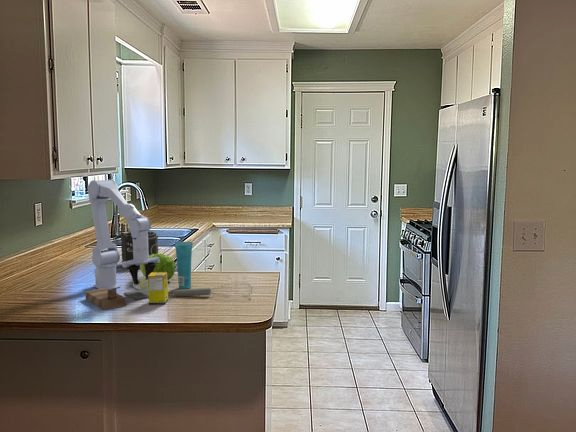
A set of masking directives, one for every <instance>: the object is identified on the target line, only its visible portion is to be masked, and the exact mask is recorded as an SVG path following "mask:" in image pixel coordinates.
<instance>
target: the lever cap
mask: <svg viewBox="0 0 576 432" xmlns="http://www.w3.org/2000/svg"><path fill="white" fill-rule="evenodd" d="M132 287H133V288H135V289H137V290H143V289H148V278H147V277H145V276H144V275H142V276H138V284H137V285H135V284H134V282H133V281H132Z"/></svg>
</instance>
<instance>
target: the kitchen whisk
mask: <svg viewBox="0 0 576 432" xmlns="http://www.w3.org/2000/svg"><path fill="white" fill-rule="evenodd" d="M238 284H239V285H245V284H246V286H249V287H250V289H247V292H248V293H246V294H243V299H245V298H247V297H249V296H250V295H251V294H252V292H253V287H252V285H251V284H250V283H249V282H246V281H244V282H237V281H235V282H233V287H236V286H238ZM231 286H232V283H231V282H230V283H228V285H227V283H225V284H222V285H219V286H217V287H213V288H210V287H207V288H205V287H204V288H188V289H172V290H170V291H169V290H168V297H171V295H170V292H172V296H173V297H176V298H177V297H194V296H196V297H197V296H210V295H214V296H217V297H220V296H221V297H224V298H225V297H226V298H229V299H230V298H231V296H227V294H223V293H225V292H226V293H231V292H233V293H234V292H237V290H233V288H231V289H229V287H231ZM225 287H228V289H227V290H219V289H220V288H222V289H223V288H225ZM232 290H233V291H232ZM212 291H215V292H212ZM217 292H220V293H217Z"/></svg>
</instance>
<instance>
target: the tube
mask: <svg viewBox="0 0 576 432" xmlns="http://www.w3.org/2000/svg"><path fill="white" fill-rule="evenodd" d="M193 243H194V242H193V241H177V240H176V241H175V240H174V246H175V248H174V249H175V254H176V255H175V257H176V264H177V265H176V268H177V279H178V280H177V281H178V282H177V283H178V289H179V290H184V289H192V288H191V287H192V257H193V256H192V252H193Z"/></svg>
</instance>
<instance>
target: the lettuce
mask: <svg viewBox="0 0 576 432" xmlns="http://www.w3.org/2000/svg"><path fill="white" fill-rule="evenodd" d="M153 257H159V258H160V263H154V264H155V268H154V270H153V272H167V278H168V281H169V280H170V279H172V278H173V276H175V271H176V263H175V260H174V259H173V258H172V257H171V256H167V255H166V254H163V253H158V254H152V255H150V256H149V258H153ZM139 269H140V272H141V274H142V276H145V277H146V271H145V266H144V264H143V265H140V268H139Z"/></svg>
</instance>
